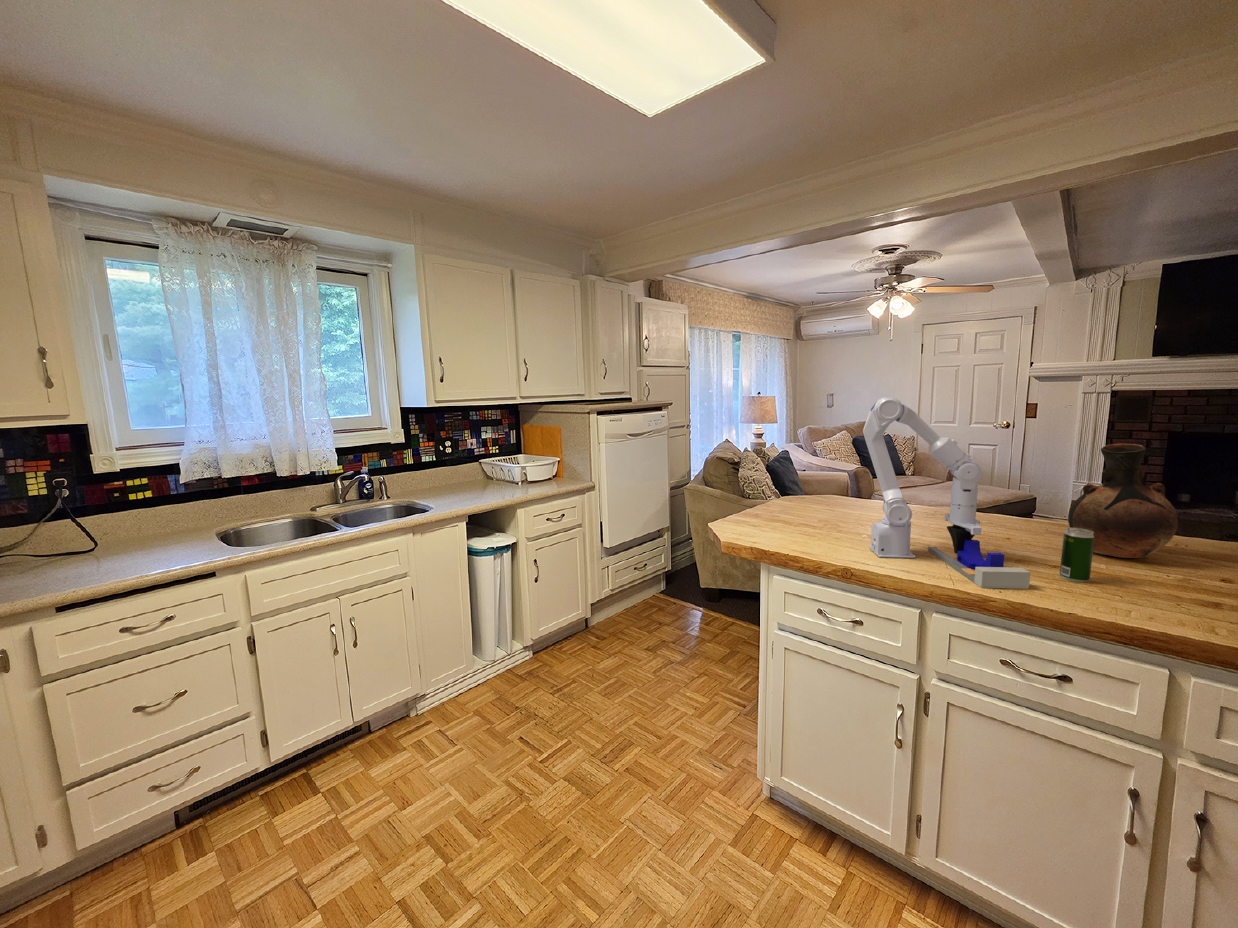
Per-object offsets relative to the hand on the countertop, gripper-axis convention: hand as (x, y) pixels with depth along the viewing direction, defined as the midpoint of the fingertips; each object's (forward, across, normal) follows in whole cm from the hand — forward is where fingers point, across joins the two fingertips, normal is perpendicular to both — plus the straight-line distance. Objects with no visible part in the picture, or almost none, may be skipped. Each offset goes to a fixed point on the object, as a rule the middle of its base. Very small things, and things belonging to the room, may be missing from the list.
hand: (959, 553), depth 136 cm
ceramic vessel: (+2, +5, -41) cm, 41 cm away
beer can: (+2, -13, -19) cm, 23 cm away
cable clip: (+2, -8, -1) cm, 8 cm away
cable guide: (+2, -7, 0) cm, 7 cm away
